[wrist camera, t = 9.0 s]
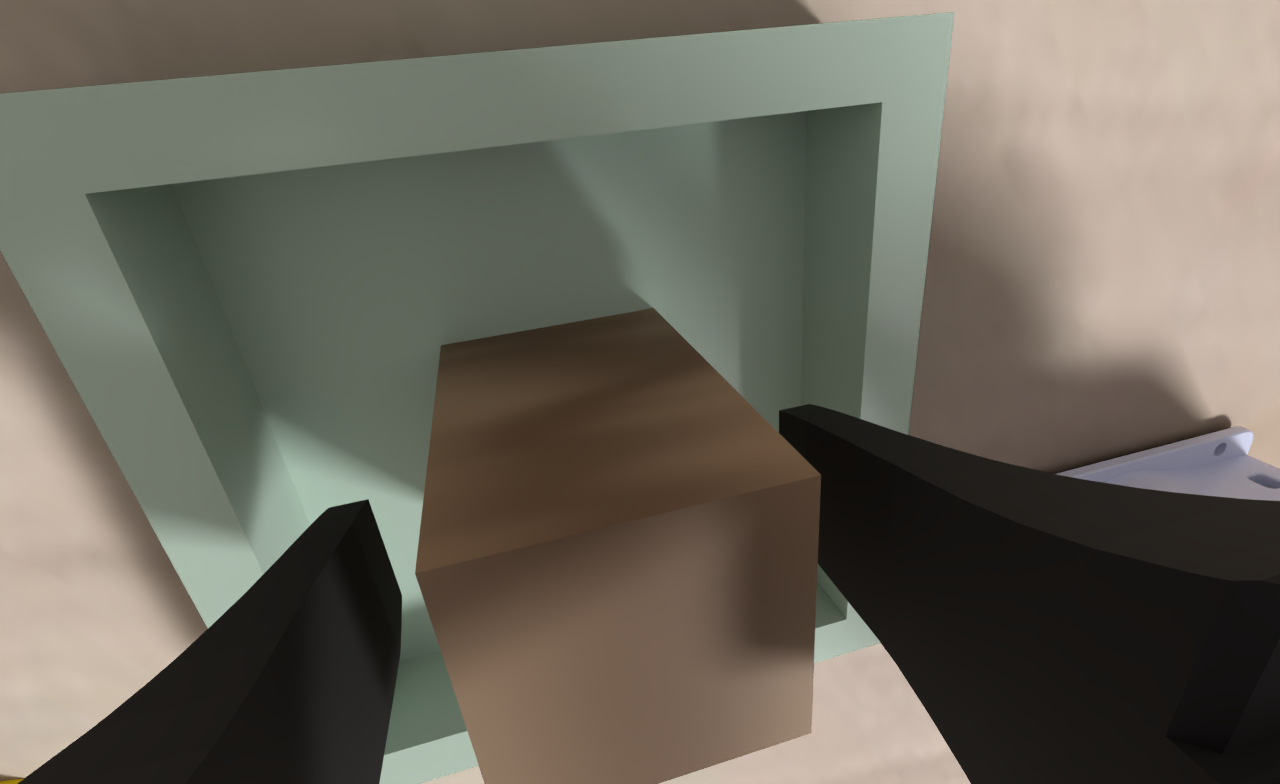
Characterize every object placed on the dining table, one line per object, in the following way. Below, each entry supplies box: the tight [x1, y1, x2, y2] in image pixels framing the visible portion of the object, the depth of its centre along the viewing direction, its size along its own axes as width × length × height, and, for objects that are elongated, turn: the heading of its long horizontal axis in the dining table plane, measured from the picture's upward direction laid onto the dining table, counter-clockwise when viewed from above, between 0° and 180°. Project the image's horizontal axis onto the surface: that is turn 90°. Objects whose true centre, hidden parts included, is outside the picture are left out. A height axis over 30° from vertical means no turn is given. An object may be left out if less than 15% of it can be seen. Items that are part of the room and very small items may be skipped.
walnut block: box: [415, 308, 821, 784], centre depth 11 cm, size 4×4×7 cm
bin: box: [0, 12, 954, 784], centre depth 13 cm, size 14×14×4 cm
